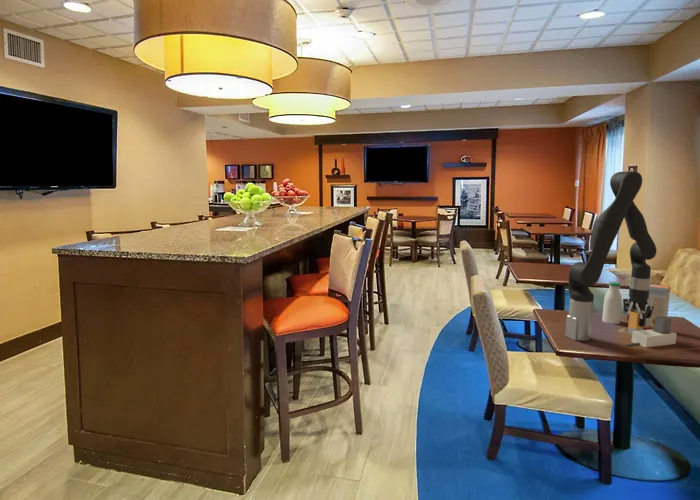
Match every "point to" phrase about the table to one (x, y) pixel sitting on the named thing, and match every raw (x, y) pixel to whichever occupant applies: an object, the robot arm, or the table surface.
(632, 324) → the plug
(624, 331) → the tray
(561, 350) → the table surface
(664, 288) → the cracker box
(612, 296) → the milk bottle
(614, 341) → the table surface
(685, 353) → the table surface
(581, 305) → the robot arm
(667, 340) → the strip
